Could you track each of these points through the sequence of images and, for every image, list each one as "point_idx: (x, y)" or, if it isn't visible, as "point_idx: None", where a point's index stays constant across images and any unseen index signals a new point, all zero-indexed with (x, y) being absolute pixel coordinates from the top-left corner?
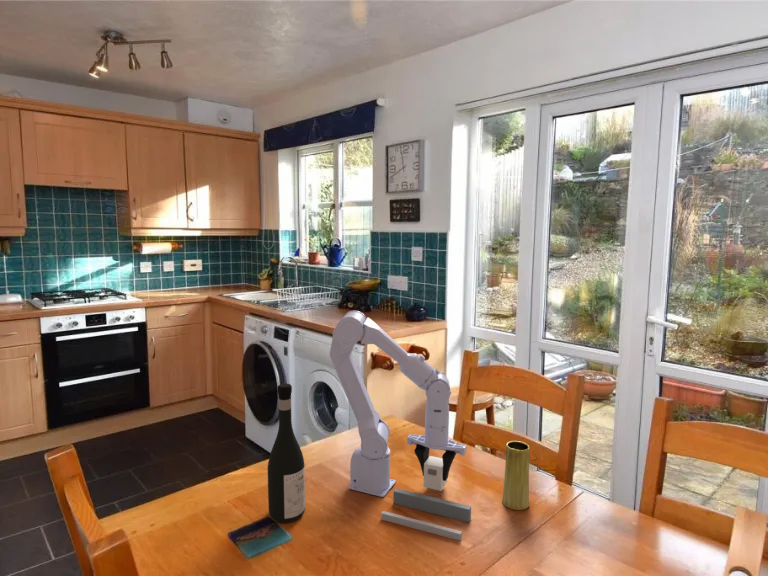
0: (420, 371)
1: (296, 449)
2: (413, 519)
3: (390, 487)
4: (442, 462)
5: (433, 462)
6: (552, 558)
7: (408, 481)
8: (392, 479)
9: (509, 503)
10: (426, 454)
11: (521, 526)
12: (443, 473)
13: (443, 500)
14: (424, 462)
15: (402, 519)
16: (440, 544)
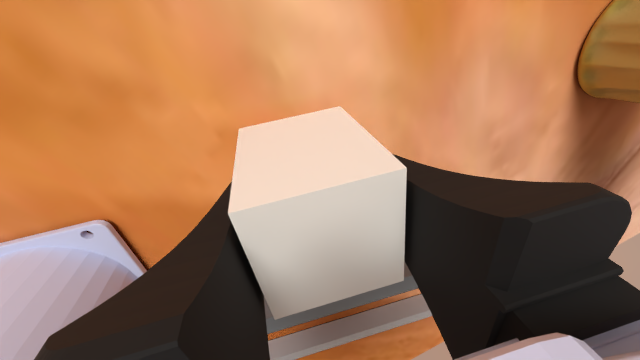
0: None
1: None
2: (344, 338)
3: (141, 271)
4: (385, 231)
5: (324, 273)
6: (631, 221)
7: (143, 171)
8: (80, 229)
9: (614, 98)
10: (249, 322)
11: (601, 163)
12: None
13: (407, 280)
14: (261, 300)
15: (318, 350)
16: None
